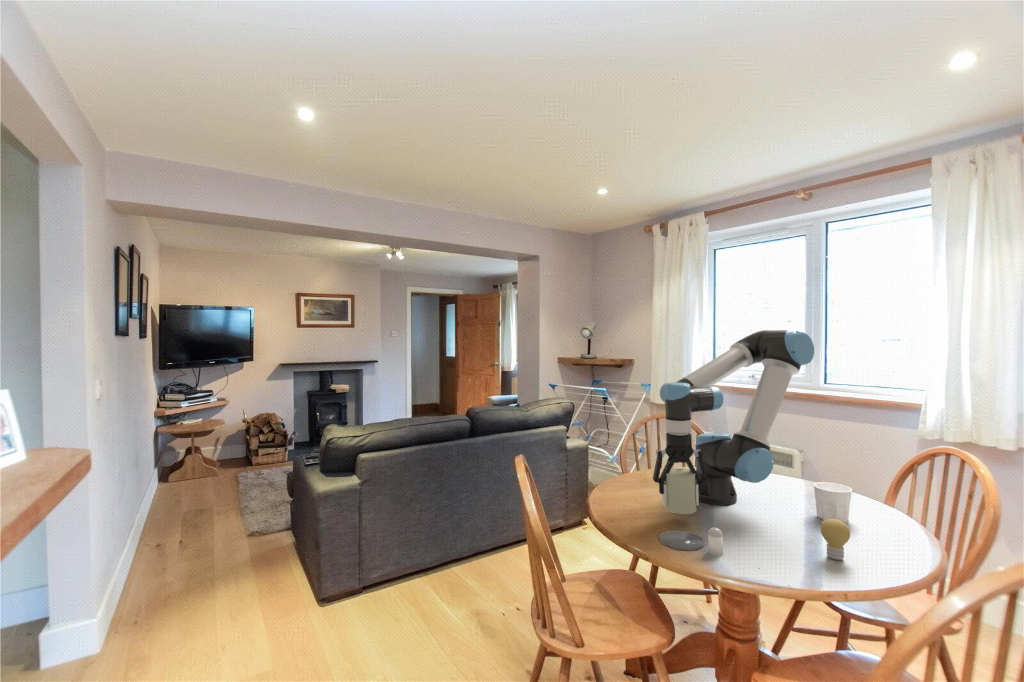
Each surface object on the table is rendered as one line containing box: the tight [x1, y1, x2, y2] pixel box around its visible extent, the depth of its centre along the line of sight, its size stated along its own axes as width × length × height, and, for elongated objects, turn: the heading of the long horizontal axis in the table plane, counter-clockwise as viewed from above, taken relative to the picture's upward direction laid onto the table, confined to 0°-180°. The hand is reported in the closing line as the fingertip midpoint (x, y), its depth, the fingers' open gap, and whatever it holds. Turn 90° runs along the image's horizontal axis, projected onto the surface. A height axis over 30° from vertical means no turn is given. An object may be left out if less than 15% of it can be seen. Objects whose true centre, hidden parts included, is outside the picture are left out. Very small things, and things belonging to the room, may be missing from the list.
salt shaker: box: [707, 527, 724, 557], centre depth 127 cm, size 4×4×7 cm
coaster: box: [659, 530, 705, 552], centre depth 135 cm, size 12×12×1 cm
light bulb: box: [819, 519, 851, 561], centre depth 124 cm, size 6×6×10 cm
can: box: [664, 467, 697, 515], centre depth 149 cm, size 9×9×12 cm
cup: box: [813, 481, 853, 524], centre depth 150 cm, size 10×10×10 cm
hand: (680, 503), depth 149 cm, fingers closed on can, 9 cm apart
